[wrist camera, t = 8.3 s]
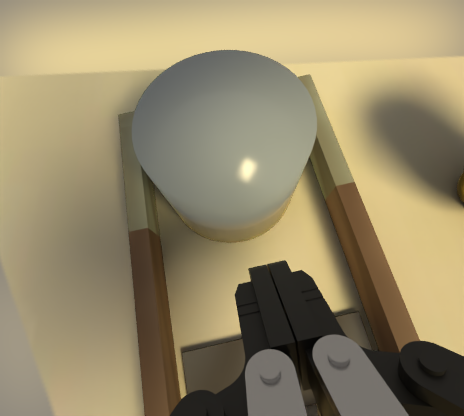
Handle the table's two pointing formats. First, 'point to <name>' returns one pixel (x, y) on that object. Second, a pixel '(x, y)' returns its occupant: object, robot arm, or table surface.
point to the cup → (461, 187)
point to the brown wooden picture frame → (232, 353)
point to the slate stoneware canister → (226, 141)
